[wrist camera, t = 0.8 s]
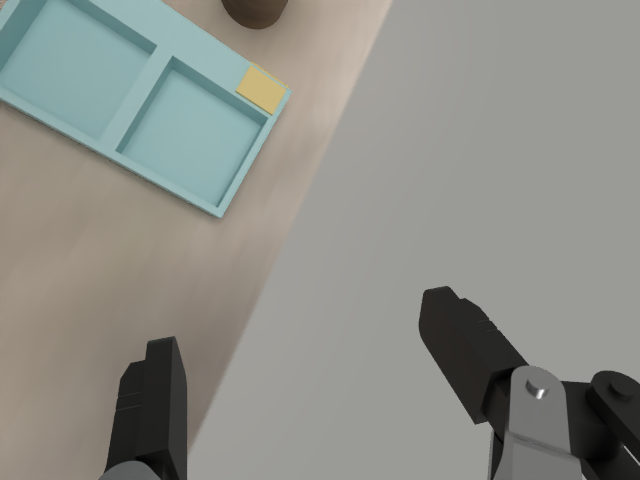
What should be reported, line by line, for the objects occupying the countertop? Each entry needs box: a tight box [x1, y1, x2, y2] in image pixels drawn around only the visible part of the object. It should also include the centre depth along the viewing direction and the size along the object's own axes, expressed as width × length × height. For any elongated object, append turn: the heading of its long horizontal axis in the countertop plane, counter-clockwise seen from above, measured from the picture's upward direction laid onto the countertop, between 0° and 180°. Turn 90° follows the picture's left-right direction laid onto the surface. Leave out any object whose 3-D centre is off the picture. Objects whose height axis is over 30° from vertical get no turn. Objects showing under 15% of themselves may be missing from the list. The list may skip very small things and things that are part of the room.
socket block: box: [0, 0, 292, 218], centre depth 27 cm, size 16×10×3 cm, turn 61°
